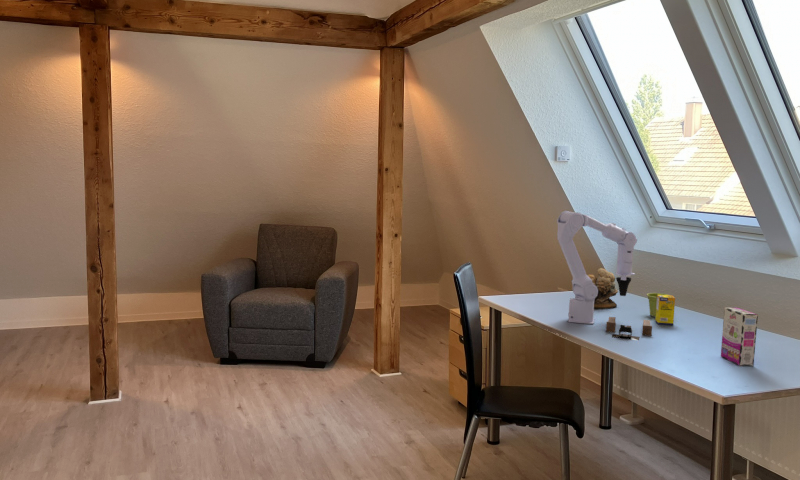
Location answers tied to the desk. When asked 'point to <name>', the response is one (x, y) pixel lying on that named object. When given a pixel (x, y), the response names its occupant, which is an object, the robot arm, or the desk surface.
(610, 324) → the wooden rail pair
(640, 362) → the desk surface
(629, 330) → the black bracket
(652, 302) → the plant pot
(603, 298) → the tan lumpy statue
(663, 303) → the supplement box
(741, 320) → the candy bar box
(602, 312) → the desk surface
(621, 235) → the robot arm
